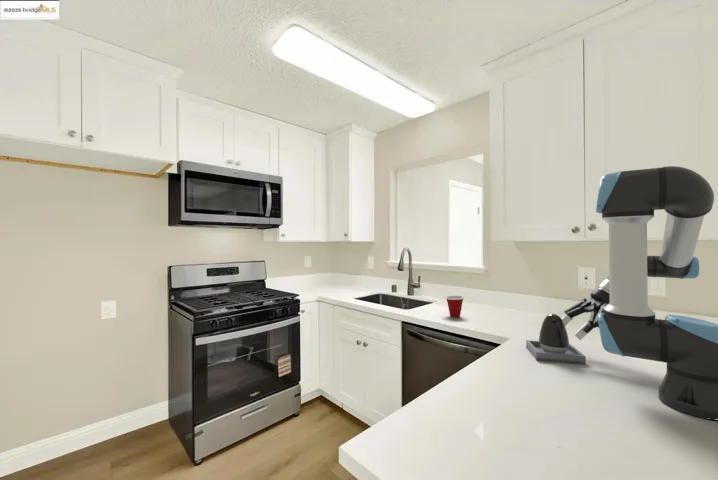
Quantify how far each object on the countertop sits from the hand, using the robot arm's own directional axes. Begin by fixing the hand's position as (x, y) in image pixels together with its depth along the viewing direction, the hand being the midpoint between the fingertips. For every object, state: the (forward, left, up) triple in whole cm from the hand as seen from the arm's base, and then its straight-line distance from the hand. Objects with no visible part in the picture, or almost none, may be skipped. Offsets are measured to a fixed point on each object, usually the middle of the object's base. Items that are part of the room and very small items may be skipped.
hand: (566, 332), depth 125 cm
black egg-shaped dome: (-2, +5, -8) cm, 10 cm away
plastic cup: (+61, +41, -9) cm, 74 cm away
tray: (-1, +5, -9) cm, 10 cm away
